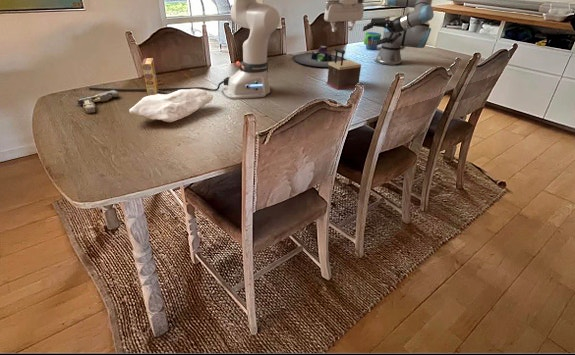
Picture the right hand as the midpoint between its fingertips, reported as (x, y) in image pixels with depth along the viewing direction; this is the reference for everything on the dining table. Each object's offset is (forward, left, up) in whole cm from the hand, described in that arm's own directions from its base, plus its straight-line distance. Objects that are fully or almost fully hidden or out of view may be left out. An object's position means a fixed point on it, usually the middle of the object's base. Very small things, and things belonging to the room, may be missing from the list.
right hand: (370, 36), depth 208 cm
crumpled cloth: (+120, -30, -18) cm, 125 cm away
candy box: (+111, -54, -18) cm, 125 cm away
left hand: (+42, +3, +9) cm, 43 cm away
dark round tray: (+6, -29, -18) cm, 34 cm away
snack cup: (-47, -18, -18) cm, 53 cm away
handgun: (+132, -61, -18) cm, 147 cm away
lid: (+39, +5, -8) cm, 40 cm away
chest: (+39, +5, -18) cm, 43 cm away
